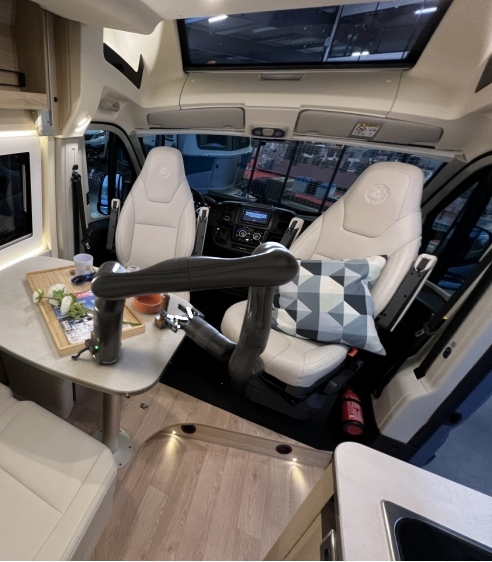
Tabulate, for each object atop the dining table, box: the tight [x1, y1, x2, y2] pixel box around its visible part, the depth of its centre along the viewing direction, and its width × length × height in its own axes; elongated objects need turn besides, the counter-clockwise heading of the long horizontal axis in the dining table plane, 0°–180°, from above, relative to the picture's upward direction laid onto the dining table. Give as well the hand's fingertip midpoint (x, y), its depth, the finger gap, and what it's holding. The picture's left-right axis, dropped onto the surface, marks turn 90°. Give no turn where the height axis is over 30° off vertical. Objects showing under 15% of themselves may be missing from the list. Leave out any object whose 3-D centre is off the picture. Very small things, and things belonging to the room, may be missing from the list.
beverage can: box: [126, 265, 141, 272], centre depth 130 cm, size 6×6×12 cm
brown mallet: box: [153, 293, 172, 330], centre depth 109 cm, size 5×4×14 cm
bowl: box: [132, 294, 163, 315], centre depth 122 cm, size 12×12×4 cm
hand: (170, 308), depth 106 cm, fingers open, 8 cm apart
